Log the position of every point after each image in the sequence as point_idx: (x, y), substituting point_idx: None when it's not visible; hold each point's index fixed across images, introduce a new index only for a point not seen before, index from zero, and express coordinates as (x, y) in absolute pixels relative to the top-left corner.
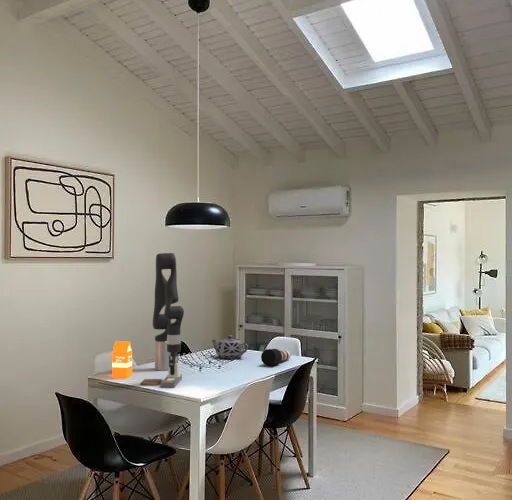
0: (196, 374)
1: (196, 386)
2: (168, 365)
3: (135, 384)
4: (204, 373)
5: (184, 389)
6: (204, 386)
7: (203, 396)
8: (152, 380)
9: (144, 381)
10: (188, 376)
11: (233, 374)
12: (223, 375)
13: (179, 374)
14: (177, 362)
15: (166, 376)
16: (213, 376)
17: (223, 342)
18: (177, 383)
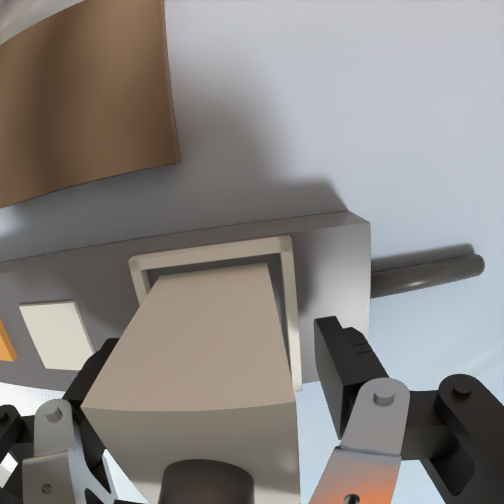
0: (489, 370)
1: (115, 465)
2: (94, 386)
3: (26, 4)
4: (498, 395)
5: (24, 415)
6: (136, 489)
7: (2, 463)
8: (78, 93)
9: (33, 45)
10: (442, 353)
11: (436, 491)
12: (426, 480)
13: (292, 382)
14: (419, 452)
15: (129, 262)
16: (413, 466)
17: None
18: None
